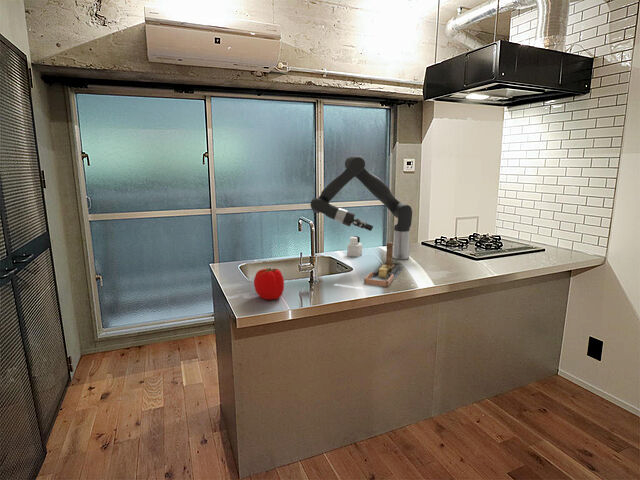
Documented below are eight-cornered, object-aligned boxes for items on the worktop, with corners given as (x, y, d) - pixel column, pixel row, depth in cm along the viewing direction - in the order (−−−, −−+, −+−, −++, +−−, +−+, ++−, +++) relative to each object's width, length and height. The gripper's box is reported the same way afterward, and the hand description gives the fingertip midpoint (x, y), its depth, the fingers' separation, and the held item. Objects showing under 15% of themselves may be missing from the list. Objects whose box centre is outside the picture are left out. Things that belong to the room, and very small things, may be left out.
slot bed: (380, 266, 219) (380, 261, 218) (403, 269, 214) (403, 264, 213) (369, 277, 199) (370, 272, 198) (394, 280, 194) (395, 275, 193)
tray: (371, 277, 198) (371, 271, 198) (393, 280, 194) (393, 274, 193) (364, 285, 187) (364, 278, 186) (387, 288, 183) (387, 281, 182)
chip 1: (380, 274, 201) (380, 267, 200) (388, 275, 199) (388, 267, 199) (378, 276, 197) (378, 269, 196) (386, 277, 196) (386, 270, 195)
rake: (386, 267, 214) (387, 240, 210) (395, 268, 212) (396, 241, 209) (382, 270, 207) (383, 243, 204) (392, 271, 205) (393, 244, 202)
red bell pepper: (275, 305, 162) (275, 274, 159) (247, 301, 167) (246, 270, 164) (292, 293, 176) (291, 264, 173) (265, 289, 181) (264, 261, 178)
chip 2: (382, 271, 205) (383, 264, 205) (390, 272, 204) (390, 265, 203) (381, 273, 202) (381, 266, 201) (388, 274, 200) (389, 267, 199)
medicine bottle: (352, 253, 249) (352, 234, 246) (362, 254, 245) (362, 236, 243) (347, 255, 243) (347, 236, 240) (357, 257, 239) (357, 238, 237)
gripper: (345, 211, 203) (374, 223, 201) (348, 210, 217) (375, 221, 215) (340, 224, 205) (368, 236, 202) (343, 222, 219) (370, 233, 216)
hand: (372, 228), depth 209 cm, fingers open, 8 cm apart
